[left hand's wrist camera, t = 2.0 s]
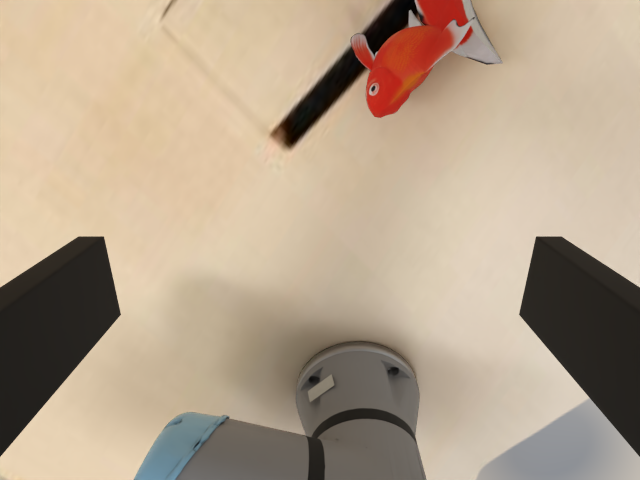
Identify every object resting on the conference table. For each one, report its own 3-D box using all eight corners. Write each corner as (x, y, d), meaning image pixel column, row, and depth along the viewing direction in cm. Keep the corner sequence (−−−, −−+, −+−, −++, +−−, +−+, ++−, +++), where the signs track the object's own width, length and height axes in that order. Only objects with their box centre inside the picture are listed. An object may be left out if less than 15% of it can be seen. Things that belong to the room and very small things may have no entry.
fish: (289, 24, 31) (370, 9, 23) (420, -94, 33) (533, -144, 25) (352, 133, 37) (433, 149, 29) (458, 27, 40) (558, 17, 32)
